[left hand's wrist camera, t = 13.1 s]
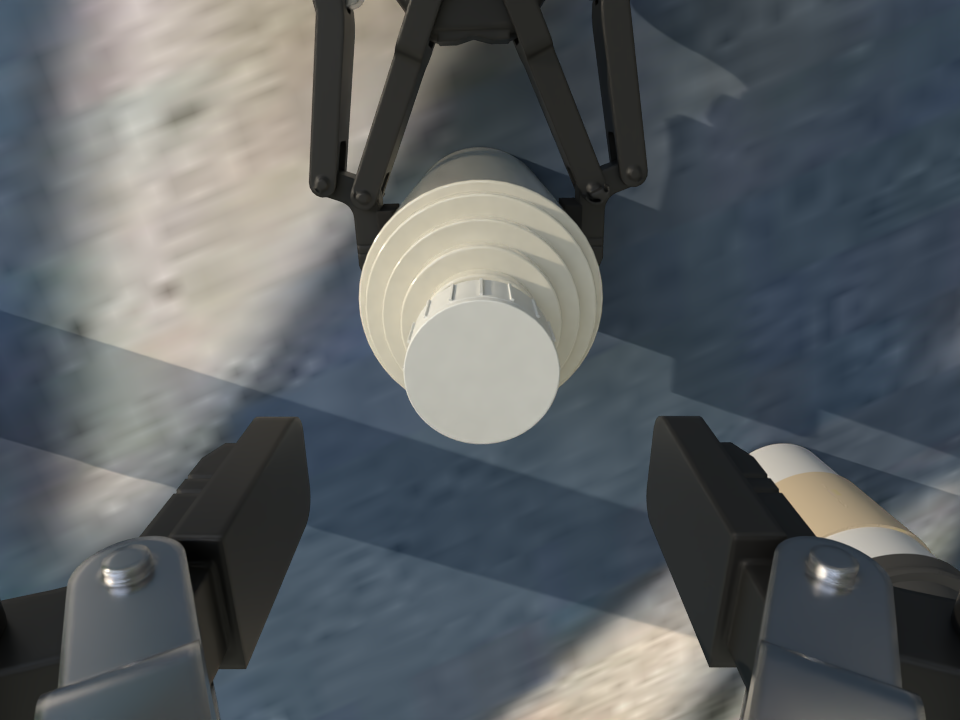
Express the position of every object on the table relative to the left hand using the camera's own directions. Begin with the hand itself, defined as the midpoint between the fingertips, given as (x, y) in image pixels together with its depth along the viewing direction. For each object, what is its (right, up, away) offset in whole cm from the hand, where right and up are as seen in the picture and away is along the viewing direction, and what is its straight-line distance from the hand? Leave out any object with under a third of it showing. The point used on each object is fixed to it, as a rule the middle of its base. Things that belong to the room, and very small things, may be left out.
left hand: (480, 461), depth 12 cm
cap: (0, +2, +4) cm, 4 cm away
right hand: (0, +3, +21) cm, 21 cm away
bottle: (0, +10, +25) cm, 27 cm away
